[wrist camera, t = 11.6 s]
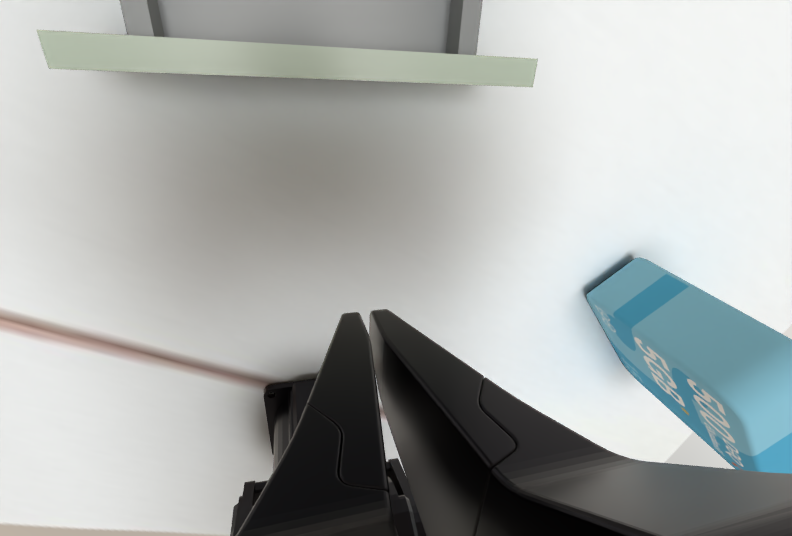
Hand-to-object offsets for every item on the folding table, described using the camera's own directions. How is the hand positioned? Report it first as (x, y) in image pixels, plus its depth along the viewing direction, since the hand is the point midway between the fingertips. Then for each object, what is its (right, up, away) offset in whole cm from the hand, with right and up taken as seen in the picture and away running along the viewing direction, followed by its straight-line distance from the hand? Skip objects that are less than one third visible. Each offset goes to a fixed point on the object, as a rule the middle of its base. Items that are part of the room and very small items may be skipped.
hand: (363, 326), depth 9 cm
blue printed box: (+19, -2, +22) cm, 30 cm away
